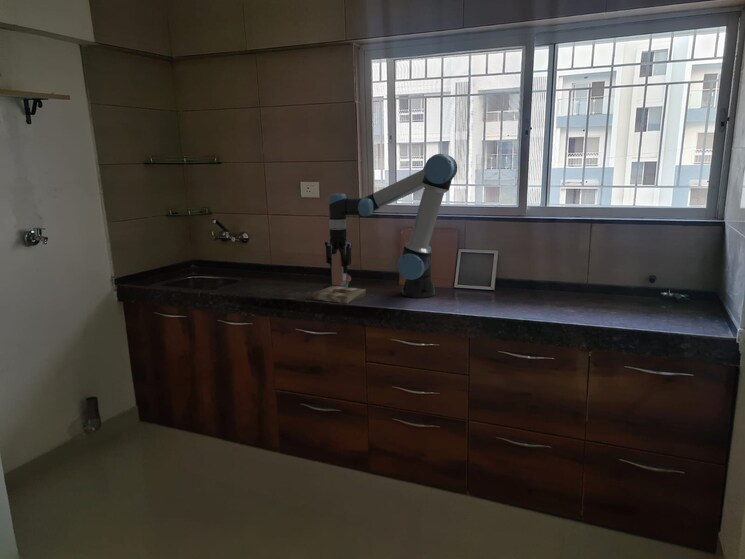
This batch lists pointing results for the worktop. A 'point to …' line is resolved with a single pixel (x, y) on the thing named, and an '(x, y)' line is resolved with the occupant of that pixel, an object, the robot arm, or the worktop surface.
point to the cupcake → (346, 281)
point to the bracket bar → (337, 270)
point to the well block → (339, 294)
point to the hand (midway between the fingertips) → (339, 279)
